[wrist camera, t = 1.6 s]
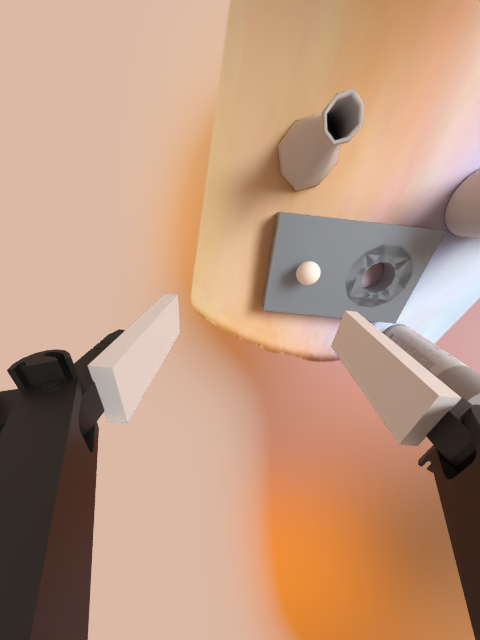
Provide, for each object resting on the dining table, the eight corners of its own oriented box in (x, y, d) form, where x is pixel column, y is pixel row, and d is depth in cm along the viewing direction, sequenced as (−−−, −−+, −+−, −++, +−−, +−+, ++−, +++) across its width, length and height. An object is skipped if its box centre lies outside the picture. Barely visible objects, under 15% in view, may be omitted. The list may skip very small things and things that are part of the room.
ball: (296, 258, 27) (302, 262, 24) (318, 260, 27) (327, 265, 24) (291, 280, 29) (296, 286, 26) (312, 282, 29) (319, 289, 26)
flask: (324, 98, 22) (379, 14, 13) (344, 167, 24) (401, 137, 16) (267, 143, 23) (281, 97, 15) (292, 202, 26) (316, 193, 17)
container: (413, 324, 35) (519, 390, 21) (401, 346, 37) (491, 417, 23) (388, 323, 35) (478, 387, 21) (377, 344, 37) (453, 415, 23)
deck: (277, 212, 27) (280, 212, 25) (429, 229, 27) (445, 230, 25) (262, 304, 33) (263, 310, 31) (385, 316, 34) (395, 323, 32)
